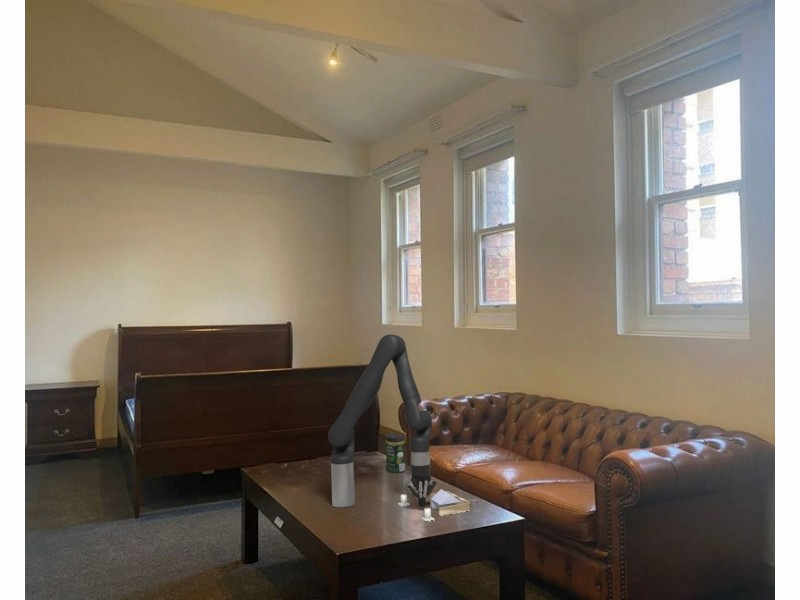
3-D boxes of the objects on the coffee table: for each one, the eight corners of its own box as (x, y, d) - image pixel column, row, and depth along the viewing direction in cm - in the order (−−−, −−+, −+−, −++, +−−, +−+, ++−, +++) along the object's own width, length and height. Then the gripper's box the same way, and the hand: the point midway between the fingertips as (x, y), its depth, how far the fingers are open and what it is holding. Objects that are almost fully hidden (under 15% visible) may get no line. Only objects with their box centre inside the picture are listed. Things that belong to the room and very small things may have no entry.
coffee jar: (383, 470, 306) (382, 433, 306) (396, 468, 310) (395, 431, 311) (394, 474, 298) (393, 435, 298) (408, 471, 302) (406, 433, 303)
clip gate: (398, 504, 249) (397, 494, 250) (406, 503, 251) (405, 493, 251) (425, 521, 227) (425, 510, 227) (434, 520, 229) (434, 509, 229)
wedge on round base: (461, 510, 240) (447, 501, 252) (460, 492, 240) (446, 484, 252) (440, 513, 236) (426, 504, 248) (439, 496, 237) (426, 487, 249)
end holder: (416, 503, 250) (416, 495, 250) (447, 498, 256) (447, 490, 256) (439, 516, 233) (439, 508, 233) (472, 510, 238) (471, 502, 239)
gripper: (430, 458, 248) (431, 502, 247) (401, 462, 242) (402, 507, 241) (440, 462, 241) (441, 507, 240) (409, 466, 235) (410, 512, 235)
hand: (421, 507), depth 241 cm, fingers closed
